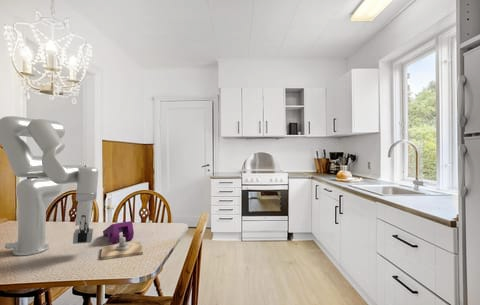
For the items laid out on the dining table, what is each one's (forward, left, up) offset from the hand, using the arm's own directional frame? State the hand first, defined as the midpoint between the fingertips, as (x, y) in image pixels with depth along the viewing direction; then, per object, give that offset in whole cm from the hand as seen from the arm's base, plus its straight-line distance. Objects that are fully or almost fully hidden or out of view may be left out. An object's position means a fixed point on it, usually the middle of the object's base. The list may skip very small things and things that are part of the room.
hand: (83, 239), depth 112 cm
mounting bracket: (+13, +20, -7) cm, 25 cm away
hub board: (+15, -1, -7) cm, 17 cm away
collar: (0, 0, -1) cm, 1 cm away
